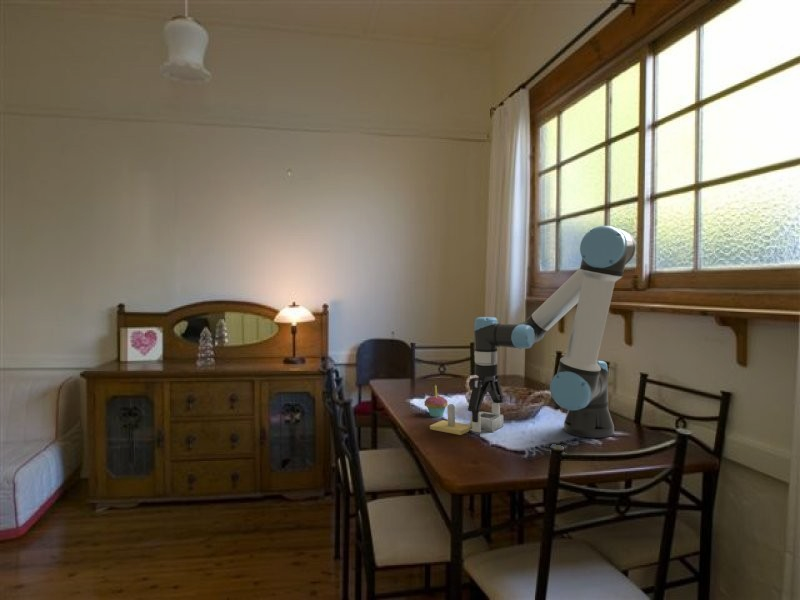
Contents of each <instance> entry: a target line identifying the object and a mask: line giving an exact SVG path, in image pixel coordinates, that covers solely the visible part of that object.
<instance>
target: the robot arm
mask: <svg viewBox="0 0 800 600" xmlns="http://www.w3.org/2000/svg"><path fill="white" fill-rule="evenodd" d="M579 252H580V255H581V262H580V267H578V269H577V270H576V271H575V272H574V273H573V274H572V275H571V276H570V277H569V278H568V279H567V280H566V281H565V282H564V283H562V284H561V285H560V287H558V289H557V290H555V291H554V293H552V294H551V295H550V296H549V297H548V298H546V300H545V301H544V302H543V303H542V304H541V305H540V306H539V307H537V309H536V310H534V311H533V313H532V314H531V315H530V316H528V317H527V318H526V319H525V320H524V321H523V322H518V323H508V324H507V323H498V319H497V317H495V316H494V317H493V316H478V317H476V318H475V321H474V329H473V332H474V333H473V334H474V353H473V355H474V362H475V364H474V375H475V376H477V377H478V379H477V380H473V381H472V389H471V393H470V397H469V398H470V399H469V403H468V406H467V407H468V408H467V410H468V411H469V412H471V416H472V430H471V431H472V432H476V433H481V432H482V430H481V412H482V411H481V407H482V404H483V402H484V401H483V400H484V398H485V395H487V393H488V394H489V396H490V398H491V400H492V401H493V402H491V413H495V414H501V411H500V410H501V409H500V408H501V407H500V406H501V405H500V404H503V402H504V401H503V399H504V396H503V391H502V387H501V384H500V378H499V377H500V376H499V374H498V364H497V363H498V358H499V357H498V348H500V347H501V348H512V349H519V350H522V349H530V348H532V346H533V345H534V344H536V343H538V342H539V341H541V340H542V339H543V338H544V336H545V334H546V333H547V332H548V331H549V330H550V329H551V328H552V327H553V326H555V324H557V323H558V322H559V321H560V320H561V319H562V318H563V317H564V316H566V315H567V314H568V312H570V310H572V309H573V308H575V306H577V307H576V311H575V316H574V319H573V320H574V321H573V325H572V329H571V332H570V333H571V334H570V336H569V337H570V338H569V342H568V347H567V351H566V354H565V355H564V356H562V357H560V358H559V363H558V368H557V372H556V374H554V376H553V377H552V379H551V381H550V383H549V392H550V395H551V397H552V399H553V400H554V402H555V403H556V405H558V406H559V407H561V408H563V409H564V410H567V413H566V415H565V418H564V421H563V431H565V432H566V434H567V433H568V434H569V435H572V436H576V437H582V438H592V439H593V438H595V439H599V438H600V439H601V438H608V437H612V436H613V435H615V426H614V422H613V419H612V416H611V414H610V410H609V389H608V388H609V380H608V379H609V369H608V364H607V362H606V361H603V360H598V358H599V354H600V349H601V345H602V341H603V337H604V333H605V328H606V323H607V318H608V316H609V312H610V311H609V310H610V306H611V301H612V297H613V292H614V289H615V283H616V282H617V281H619V280H621V279H622V278H623V277H624V271H625V268H626V265H628V263H630V262H631V260H632V259H633V257H634V256H635V252H636V241H635V239H634V237H633V235H632V234H631V233H629V232H628V231H626V230H624V229H622V228H618V227H616V226H612V225H600V226H597V227H593V228H591V229H590V230H588V231H587V232H586V233H585V234H584V236H583V237H582V240H581V241H580V245H579Z"/></svg>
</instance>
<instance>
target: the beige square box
mask: <svg viewBox="0 0 800 600" xmlns="http://www.w3.org/2000/svg"><path fill="white" fill-rule="evenodd" d="M480 412H481V431H482V430H484V431H483V432H487V431H489V432H488V433H494V432H497V431H498V430H500V429H502V428H503V427H504V414H501V413H500V414H495V413H492V412H487V411H480ZM470 425H472V415H471V416H470Z"/></svg>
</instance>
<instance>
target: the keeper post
mask: <svg viewBox="0 0 800 600" xmlns="http://www.w3.org/2000/svg"><path fill="white" fill-rule="evenodd" d="M455 407H456V406H455V404H453V403H449V404H448V405H447V420H444V419H442V420H440V421H438V422H435V423H433V424H431V425H429V430H433V431H437V432H443V433H447V434H448V433H449V434H453V435H458V436H462V435H464V434H467V433H469V432H470V431H472V430H471V429H472V425H471V424H467V423H461V422H456V409H455ZM469 430H470V431H469Z"/></svg>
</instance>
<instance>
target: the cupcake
mask: <svg viewBox="0 0 800 600" xmlns="http://www.w3.org/2000/svg"><path fill="white" fill-rule="evenodd" d="M437 388H438V387H437V384H435V385H434V395H432V396H429V397H428V398H426V399H425V400H424V404H423V405H424V406H425V407H426V408H427V410H428V412H429V415H430V417H434V418H438V417H440V416H441V417H443V416H444V413H445V410H446V409H447V408H446V407H448V405H449V404H448V400H447V399H446V398H445V397H442V396H440V395H437V394H438V389H437Z"/></svg>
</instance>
